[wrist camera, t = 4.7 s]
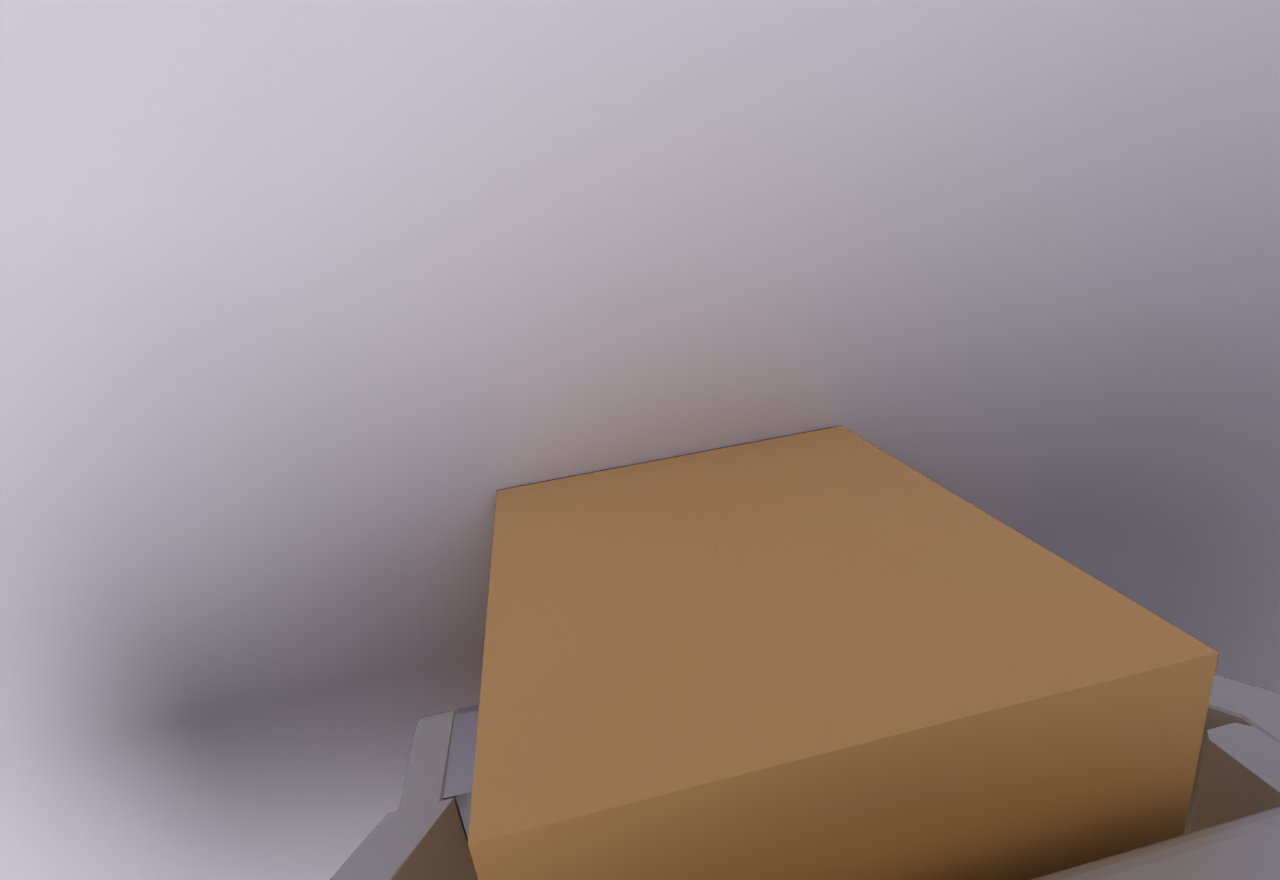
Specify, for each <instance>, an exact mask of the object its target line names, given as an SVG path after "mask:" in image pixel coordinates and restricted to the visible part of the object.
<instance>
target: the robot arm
mask: <svg viewBox="0 0 1280 880" xmlns="http://www.w3.org/2000/svg"><path fill="white" fill-rule="evenodd" d="M478 713H479V705H477V706H472V707H467V708H462V709H458V710H457V711H450V712H445V713H441V714H436V715H431V716H427V717H422V718H421V719H420V721H419V722H418V724H417V725H416V729H415V734H414V739H413V744H412V748H411V753H410V758H409V763H408V767H407V772H406V777H405V782H404V786H403V791H402V796H401V801H400V805H399V810H398V811H397V812H393V813H389V814H387V815H386V816H385V817H384V818H383V819H382V821H381V822H380V823H379V824H378V825H377V826H376V827H375V829H374V830H373V831H372V832H371V833H370V834H369V835H368V837H367V838H366V839H365V840H364V841H363V842H362V843H361V845H360V846H359V847H358V848H357V849H356V850H355V851H354V853H353V854H352V855H351V856H350V857H349V858H348V859H347V861H346V862H345V863H344V864H343V865H342V866H341V867H340V869H339V870H338V871H337V872H336V873H335V874H334V876H333V877H332V878H331V879H330V880H478V877H477V874H476V871H475V867H474V864H473V860H472V857H471V854H470V850H469V847H468V835H469V823H470V811H471V798H472V786H473V774H474V762H475V750H476V738H477V726H478ZM1031 880H1280V693H1277V692H1273V691H1270V690H1266V689H1263V688H1259V687H1256V686H1253V685H1249V684H1246V683H1242V682H1239V681H1235V680H1232V679H1228V678H1225V677H1222V676H1218V675H1215V676H1214V681H1213V686H1212V691H1211V696H1210V701H1209V706H1208V711H1207V717H1206V722H1205V727H1204V732H1203V737H1202V742H1201V747H1200V752H1199V757H1198V763H1197V768H1196V773H1195V778H1194V783H1193V788H1192V793H1191V798H1190V804H1189V809H1188V814H1187V819H1186V824H1185V829H1184V834H1183V835H1181V836H1177V837H1174V838H1171V839H1167V840H1164V841H1160V842H1157V843H1154V844H1150V845H1147V846H1143V847H1140V848H1137V849H1133V850H1130V851H1126V852H1123V853H1120V854H1116V855H1113V856H1109V857H1106V858H1103V859H1099V860H1096V861H1092V862H1089V863H1086V864H1082V865H1079V866H1075V867H1072V868H1069V869H1065V870H1062V871H1058V872H1055V873H1052V874H1048V875H1045V876H1041V877H1038V878H1034V879H1031Z"/></svg>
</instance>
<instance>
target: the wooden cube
mask: <svg viewBox="0 0 1280 880" xmlns="http://www.w3.org/2000/svg"><path fill="white" fill-rule="evenodd" d="M1218 655H1219V652H1218V651H1216V650H1214V649H1213V648H1211V647H1209V646H1208V645H1206V644H1204V643H1203V642H1201V641H1199V640H1198V639H1196V638H1194V637H1193V636H1191V635H1189V634H1188V633H1186V632H1184V631H1183V630H1181V629H1179V628H1178V627H1176V626H1174V625H1173V624H1171V623H1169V622H1168V621H1166V620H1164V619H1163V618H1161V617H1159V616H1158V615H1156V614H1154V613H1153V612H1151V611H1149V610H1148V609H1146V608H1144V607H1143V606H1141V605H1139V604H1138V603H1136V602H1134V601H1133V600H1131V599H1129V598H1128V597H1126V596H1124V595H1123V594H1121V593H1119V592H1118V591H1116V590H1114V589H1113V588H1111V587H1109V586H1108V585H1106V584H1104V583H1103V582H1101V581H1099V580H1098V579H1096V578H1094V577H1093V576H1091V575H1089V574H1088V573H1086V572H1084V571H1083V570H1081V569H1079V568H1078V567H1076V566H1074V565H1073V564H1071V563H1069V562H1068V561H1066V560H1064V559H1063V558H1061V557H1059V556H1058V555H1056V554H1054V553H1053V552H1051V551H1049V550H1048V549H1046V548H1044V547H1043V546H1041V545H1039V544H1038V543H1036V542H1034V541H1033V540H1031V539H1029V538H1028V537H1026V536H1024V535H1023V534H1021V533H1019V532H1018V531H1016V530H1014V529H1013V528H1011V527H1009V526H1008V525H1006V524H1004V523H1003V522H1001V521H999V520H998V519H996V518H994V517H993V516H991V515H989V514H988V513H986V512H984V511H983V510H981V509H979V508H978V507H976V506H974V505H973V504H971V503H969V502H968V501H966V500H964V499H963V498H961V497H959V496H958V495H956V494H954V493H953V492H951V491H949V490H948V489H946V488H944V487H943V486H941V485H939V484H938V483H936V482H934V481H933V480H931V479H929V478H928V477H926V476H924V475H922V474H921V473H919V472H917V471H916V470H914V469H912V468H911V467H909V466H907V465H906V464H904V463H902V462H901V461H899V460H897V459H896V458H894V457H892V456H891V455H889V454H887V453H886V452H884V451H882V450H881V449H879V448H877V447H876V446H874V445H872V444H871V443H869V442H867V441H866V440H864V439H862V438H861V437H859V436H857V435H856V434H854V433H852V432H851V431H849V430H847V429H846V428H844V427H842V426H838V427H833V428H827V429H822V430H817V431H811V432H806V433H801V434H795V435H790V436H785V437H779V438H774V439H769V440H763V441H758V442H753V443H748V444H742V445H737V446H732V447H726V448H721V449H716V450H710V451H705V452H700V453H694V454H689V455H684V456H678V457H673V458H668V459H662V460H657V461H652V462H646V463H641V464H636V465H631V466H625V467H620V468H615V469H609V470H604V471H599V472H593V473H588V474H583V475H577V476H572V477H567V478H561V479H556V480H551V481H545V482H540V483H535V484H529V485H524V486H519V487H514V488H508V489H503V490H498V491H497V495H496V507H495V519H494V531H493V544H492V556H491V568H490V580H489V592H488V604H487V616H486V629H485V641H484V653H483V665H482V677H481V689H480V701H479V713H478V726H477V738H476V750H475V762H474V774H473V786H472V798H471V811H470V823H469V835H468V847H469V850H470V854H471V857H472V860H473V864H474V867H475V871H476V874H477V877H478V880H1031V879H1034V878H1038V877H1041V876H1045V875H1048V874H1052V873H1055V872H1058V871H1062V870H1065V869H1069V868H1072V867H1075V866H1079V865H1082V864H1086V863H1089V862H1092V861H1096V860H1099V859H1103V858H1106V857H1109V856H1113V855H1116V854H1120V853H1123V852H1126V851H1130V850H1133V849H1137V848H1140V847H1143V846H1147V845H1150V844H1154V843H1157V842H1160V841H1164V840H1167V839H1171V838H1174V837H1177V836H1181V835H1183V834H1184V829H1185V824H1186V819H1187V814H1188V809H1189V804H1190V798H1191V793H1192V788H1193V783H1194V778H1195V773H1196V768H1197V763H1198V757H1199V752H1200V747H1201V742H1202V737H1203V732H1204V727H1205V722H1206V717H1207V711H1208V706H1209V701H1210V696H1211V691H1212V686H1213V681H1214V676H1215V670H1216V665H1217V660H1218Z"/></svg>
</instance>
